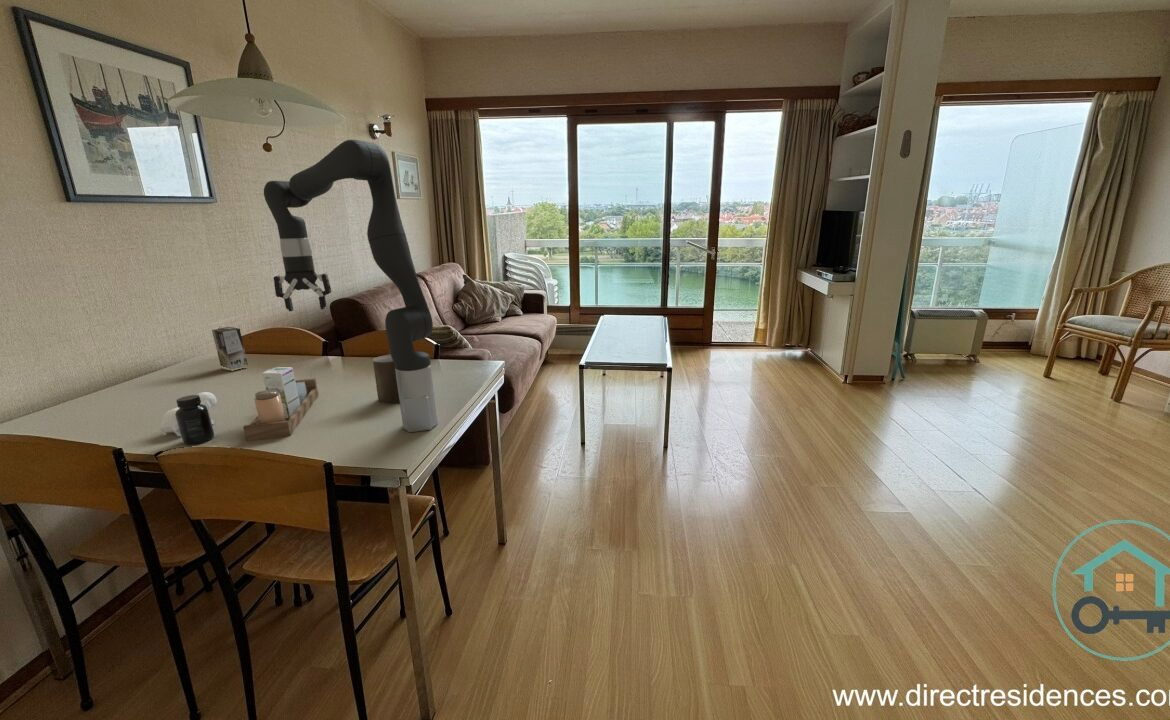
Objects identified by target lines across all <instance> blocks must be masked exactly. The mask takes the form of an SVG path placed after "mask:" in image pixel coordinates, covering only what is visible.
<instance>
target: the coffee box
mask: <svg viewBox="0 0 1170 720" xmlns="http://www.w3.org/2000/svg"><path fill="white" fill-rule="evenodd" d="M211 333H212V337H213V341H214V345H215V350H216V352H217V357H218V360H219V364H220V367H221V366H223V367H226V368H229V369H235V368H240V367H245V366H248V367H249V363H248V358H247V355H246V350H245V346H244V342H243V337H242V333H241V328H237V327H232V326H224V327H221V328H220V327H219V328H217V329H211Z"/></svg>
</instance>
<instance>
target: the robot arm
mask: <svg viewBox="0 0 1170 720" xmlns="http://www.w3.org/2000/svg"><path fill="white" fill-rule="evenodd" d="M346 179H353V180H357V181H367V183H368V184H367V185H368V186H369V189H370V194H371V195H370V196H371V201H372V208H371V212H370V216H369V220H368V225H367V229H366V230H367V231H366V233H367V234H366V235H367V240H368V244H369V247H370V251H371V254H372V257H373V260H374V262H375V264H376V265H377V267H379V269H380V270H381V271H382V272H383V273H384V274H385V276H386V277H388V279H390V281H392V283H393V284H394V285H395V286H396V288H397V289H398V291H399V293H400V295H401V297H402V299H403V302H404V305H405V306H403V307H398V308H395V309H392V310H391V309H390V310H389V311H388V312H387V313H386V316H385V320H384V325H385V326H384V327H385V332H386V333H385V334H386V338H387V342H388V347H389V353H390V354H389V355H391V357H392V359H393V362H394V365H395V371H396V379H397V386H398V394H399V401H400V402H399V407H400V414H401V421H402V427H403V430H405V431H407V433H413V432H422V431H423V432H424V431H431V430H432V429H433V428H434V427H435V426H436V425H438V414H437V406H436V398H435V389H434V387H435V386H434V382H433V381H434V380H433V373H432V372H433V371H432V363H431V362H432V361H431V356H430V354H429V353H427V352H424V351H417V350H415V347H414V343H413V342H416V341H420V340H423V339H427V338H428V337H430V336H431V335H432V333H433V329H434V322H433V318H432V314H431V311H430V309H429V305H428V303H427V300H426V298H425V296H424V293H423V290H422V287H421V284H420V282H419V278H418V276H417V273H416V268H415V265H414V262H413V261H414V260H413V258H412V255H411V250H410V246H409V242H408V239H407V235H406V231H405V229H404V225H403V222H402V219H401V214H400V209H399V207H398V203H397V198H396V193H395V187H394V182H393V173H392V169H391V165H390V161H389V157H388V155H387V153H386V151H385V149H384V148H383V147H382V146H381V145H379V144H377V143H374V142H368V141H363V140H360V139H359V140H358V139H347V140H344V141H342V142H341V143H339V144H338V145H337V146H336V147H335V148H333V149H331V151H330V152H328V153H327V154H326V155H325V156H324V157H323V158H321V159H320V160H319V161H318V162H316V163H315V164H313V165H312V166H309V167H307V168H305V169H303V170H302V171H299V172H297V173H295V174H294V175H291V177H290V178H289V181H287V180H286V181H285V180H284V181H283V180H270V181H268V182H266V184H265V185H264V187H263V197H264V199H265V203H266V205H267V206H268V209H269V211H270V213H271V214H272V217H273V219H274V221H275V223H276V225H277V231H278V237H279V240H280V241H279V242H280V243H279V244H280V245H279V246H280V252H281V257H282V262H283V266H284V267H283V268H284V273H285V274H284V276H283V275H282V276H281V275H275V276H273V285H274V290H275V291H274V292H275V297H277V298H282V299H283V301H284V304H285V305H284V306H285V309H286V310H288V312H293V311H294V305H293V300H292V297H291V295H292V294H293V293H294V292H295V291H301V290H304V291H307V290H308V291H309V290H312V291H313V292H314V293H316V294H317V295H318V296H319V297H318V301H319V307H320V310H325V309H326V307H327V305H328V303H327V299H326V296H327V295H330V294H331V293H332V288H331V284H330V280H329V275H328V273H326V272H324V273H322V274H317V273H316V270H315V265H314V260H313V251H312V249H311V245H310V241H309V238H308V237H309V236H308V232H307V231H308V230H307V226H306V222H305V219H304V218H303V217H300V216H295V215H293V214H292V213H291V212H290V210H289V208H292V209H293V208H296V209H297V208H303V207H304V206H307V205H308V204H309V203H310V202H311V201H312V200H313V199H315V198H317V197H320V196H322V195H325V194H326V193H328V192H329V191H330V190H331V189H332V187H333V184H334V183H335V182H337V181H340V180H346ZM318 279H319V281H320V282H322V284H323V285H322V286H323V289H324V290H323V289H322V288H321V287H320V286H319V285H318V284H317V283H316V282H317V280H318ZM284 282H286V283H287V284H288V287H287V289H286V290H285V292H283V290H284V289H283V283H284Z"/></svg>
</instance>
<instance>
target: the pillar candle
mask: <svg viewBox="0 0 1170 720" xmlns="http://www.w3.org/2000/svg"><path fill="white" fill-rule="evenodd" d="M372 365H373V371H374V379H375V385H376V387H375V388H376V392H377V393H376V395H377V399H378V402H379V403H381V404H386V405H387V404H388V405H389V404H391V405H392V404H398V403H399V404H400V401H399V394H398V386H397V379H396V371H395V365H394V362H393V359H392V357H391V354H389V353H388V354H386V355H385V354H384V355H381V356H377V357H373V359H372Z"/></svg>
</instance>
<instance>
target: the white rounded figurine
mask: <svg viewBox="0 0 1170 720" xmlns="http://www.w3.org/2000/svg"><path fill="white" fill-rule="evenodd" d="M196 395H199V397H200V400H201V403H200V404H203V405H205V406H206V407H207V408H208V411H210V410H212V408H213V407H215V406H216V405H217V402H218V401H217V397H216V395H215V394H213V393H212V392H209V391H208V392H207V391H203V392H199V393H197V394H196ZM178 409H179V407H178V406H177V407H174V408H173V409H169V410H168V411H166V412H164V414H163V416H162V418H161V421H160V422H161V423H160V427H158V431H160V433H161V434H162V435H163V434H166V433H167V434H168V433H174V434H175V435H176V436H177V437H178V436H181V433H180V430H179V427H178V423H177V420H176V416H175V413H176V411H177V410H178ZM210 419H211V423H212V424H214V423H215V424H216V421H215V419H213V418H211V417H210ZM215 424H214V425H215Z"/></svg>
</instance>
